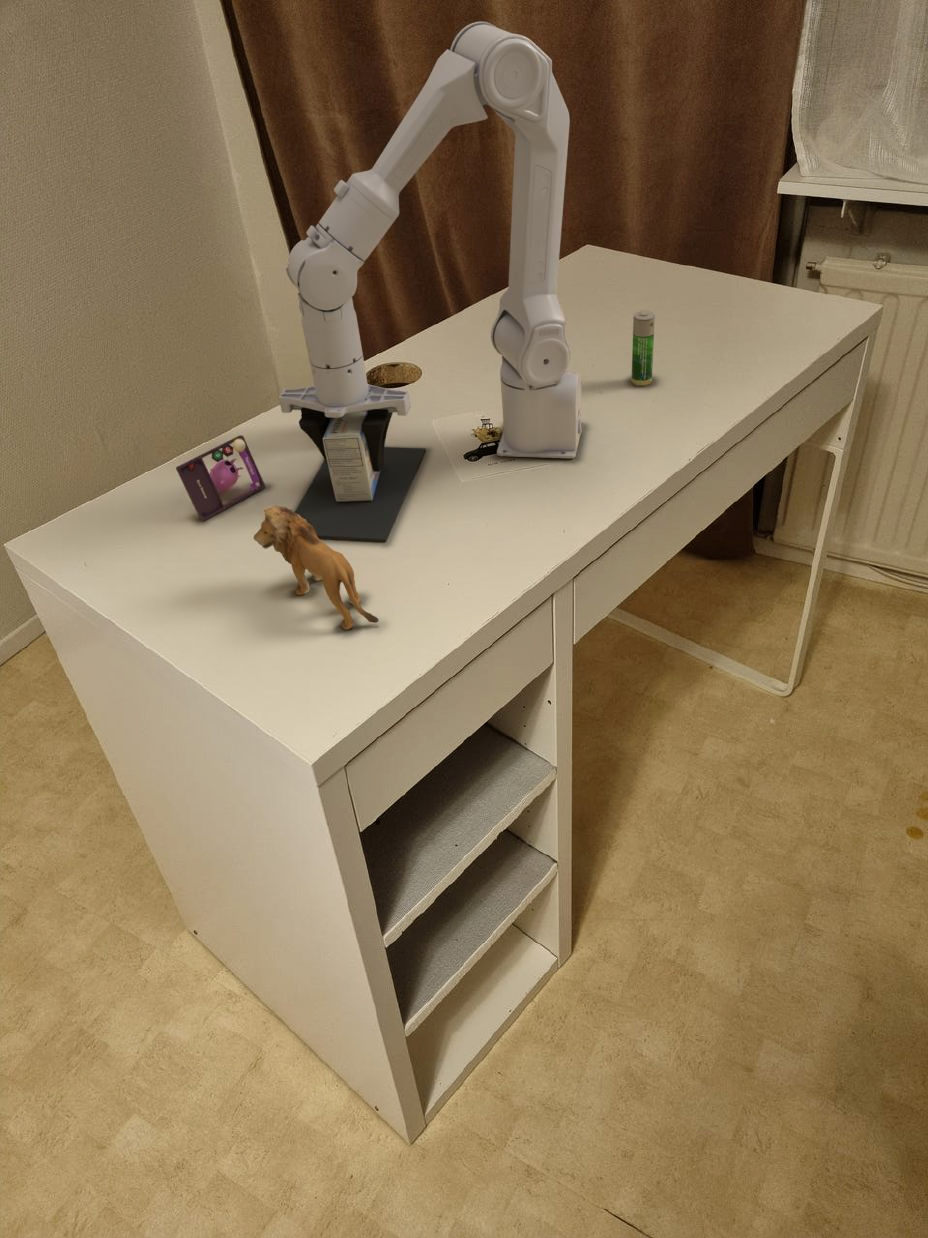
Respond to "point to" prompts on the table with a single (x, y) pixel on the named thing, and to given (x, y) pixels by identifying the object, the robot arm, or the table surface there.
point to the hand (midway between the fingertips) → (356, 466)
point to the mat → (362, 516)
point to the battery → (642, 348)
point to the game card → (217, 477)
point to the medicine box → (349, 459)
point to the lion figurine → (310, 558)
